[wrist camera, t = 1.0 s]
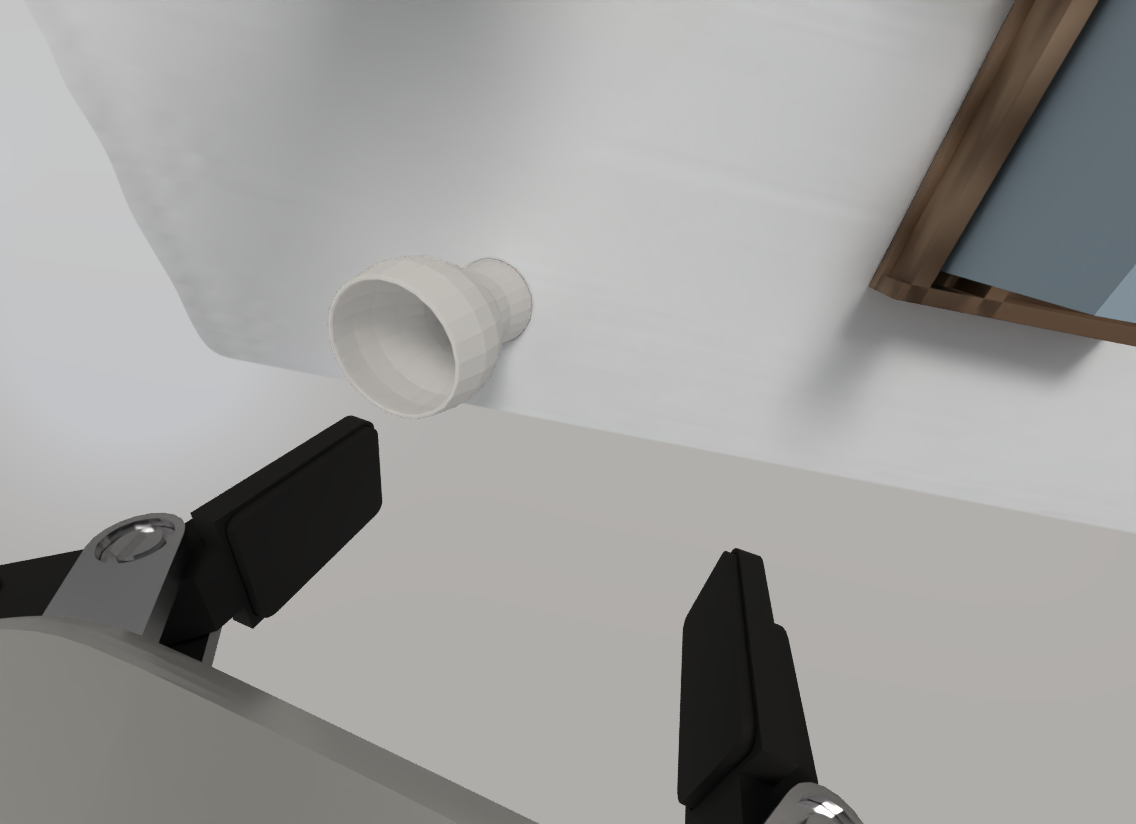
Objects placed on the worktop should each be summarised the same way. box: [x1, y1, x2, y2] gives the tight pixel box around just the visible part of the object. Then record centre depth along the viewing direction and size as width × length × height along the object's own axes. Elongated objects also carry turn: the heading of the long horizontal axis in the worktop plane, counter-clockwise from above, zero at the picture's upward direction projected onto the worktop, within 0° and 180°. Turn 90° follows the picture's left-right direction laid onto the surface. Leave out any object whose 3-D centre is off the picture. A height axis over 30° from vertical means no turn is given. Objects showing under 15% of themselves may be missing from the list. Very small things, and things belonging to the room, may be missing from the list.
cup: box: [328, 256, 532, 418], centre depth 32 cm, size 11×11×15 cm
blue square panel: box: [940, 0, 1136, 323], centre depth 18 cm, size 14×2×14 cm, turn 171°
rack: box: [869, 0, 1136, 346], centre depth 22 cm, size 18×15×4 cm
